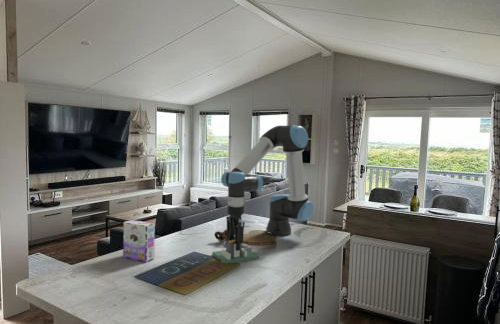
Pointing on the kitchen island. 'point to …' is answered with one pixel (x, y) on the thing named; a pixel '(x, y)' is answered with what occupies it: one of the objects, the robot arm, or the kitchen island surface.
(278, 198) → the robot arm
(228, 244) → the plug
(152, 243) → the candy box
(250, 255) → the header board
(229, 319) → the kitchen island surface
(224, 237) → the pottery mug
